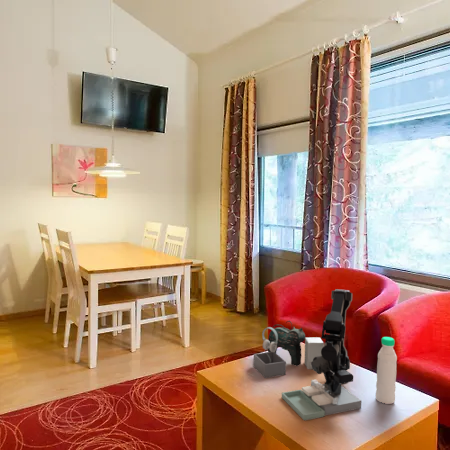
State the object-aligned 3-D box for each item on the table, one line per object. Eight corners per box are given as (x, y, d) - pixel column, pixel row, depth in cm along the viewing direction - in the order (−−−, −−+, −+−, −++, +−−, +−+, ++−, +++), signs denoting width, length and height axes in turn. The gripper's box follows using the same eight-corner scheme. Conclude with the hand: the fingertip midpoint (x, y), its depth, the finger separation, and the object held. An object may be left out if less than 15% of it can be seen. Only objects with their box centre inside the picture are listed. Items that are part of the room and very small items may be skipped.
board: (335, 388, 167) (336, 381, 167) (361, 408, 152) (361, 400, 152) (302, 394, 162) (302, 387, 162) (324, 415, 147) (325, 407, 147)
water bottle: (393, 406, 154) (396, 343, 152) (373, 401, 157) (376, 339, 155) (396, 398, 160) (399, 337, 158) (377, 393, 163) (380, 333, 161)
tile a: (312, 388, 161) (312, 385, 161) (319, 394, 156) (319, 391, 156) (301, 390, 159) (301, 387, 159) (308, 396, 155) (308, 393, 154)
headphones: (259, 369, 185) (260, 326, 183) (264, 366, 188) (265, 324, 186) (273, 374, 179) (274, 331, 177) (279, 372, 182) (280, 329, 180)
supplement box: (323, 369, 185) (324, 343, 184) (307, 369, 185) (307, 342, 184) (319, 363, 192) (320, 337, 191) (304, 362, 193) (304, 336, 192)
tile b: (322, 396, 154) (323, 393, 154) (330, 403, 150) (330, 400, 149) (311, 399, 153) (311, 395, 152) (319, 405, 148) (319, 402, 148)
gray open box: (273, 363, 191) (273, 351, 190) (285, 374, 179) (285, 361, 179) (253, 366, 187) (253, 354, 187) (264, 378, 176) (265, 364, 175)
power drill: (305, 365, 190) (306, 323, 188) (297, 369, 185) (298, 326, 184) (272, 352, 204) (273, 314, 203) (264, 356, 200) (265, 316, 198)
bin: (300, 394, 162) (300, 389, 162) (324, 416, 146) (324, 411, 146) (281, 397, 159) (281, 392, 159) (304, 420, 143) (304, 415, 143)
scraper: (327, 383, 165) (328, 374, 165) (351, 401, 151) (351, 391, 151) (310, 386, 162) (311, 376, 162) (333, 404, 148) (333, 394, 148)
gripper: (301, 344, 161) (300, 382, 163) (329, 363, 144) (327, 405, 145) (325, 341, 165) (324, 378, 166) (355, 359, 148) (353, 400, 149)
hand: (331, 390), depth 157 cm, fingers closed on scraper, 2 cm apart
